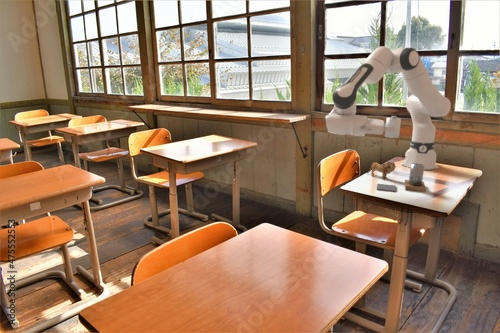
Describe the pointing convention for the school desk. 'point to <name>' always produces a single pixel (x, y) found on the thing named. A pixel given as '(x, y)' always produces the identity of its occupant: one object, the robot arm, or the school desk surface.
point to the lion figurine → (383, 168)
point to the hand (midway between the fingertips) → (395, 127)
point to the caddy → (414, 187)
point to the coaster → (386, 187)
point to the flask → (416, 174)
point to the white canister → (393, 123)
